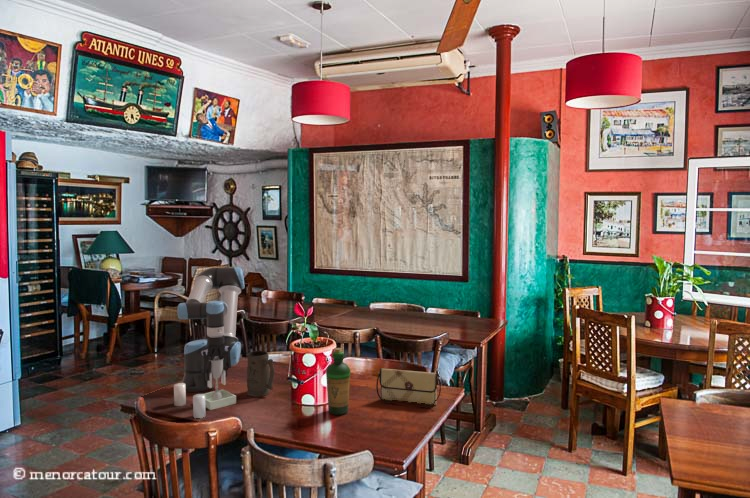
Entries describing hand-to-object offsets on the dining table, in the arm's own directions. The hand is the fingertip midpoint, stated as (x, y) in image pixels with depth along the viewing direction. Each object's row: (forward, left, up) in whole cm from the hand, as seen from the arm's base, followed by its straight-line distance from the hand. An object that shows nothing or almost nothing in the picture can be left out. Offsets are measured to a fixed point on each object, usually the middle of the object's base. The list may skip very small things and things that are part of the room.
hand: (216, 385), depth 250 cm
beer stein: (-22, +3, -8) cm, 24 cm away
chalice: (0, 0, -6) cm, 6 cm away
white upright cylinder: (+13, -10, -8) cm, 18 cm away
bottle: (-34, +46, -8) cm, 58 cm away
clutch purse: (-63, +60, -8) cm, 88 cm away
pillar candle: (+13, +10, -8) cm, 18 cm away
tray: (0, 0, -8) cm, 8 cm away
